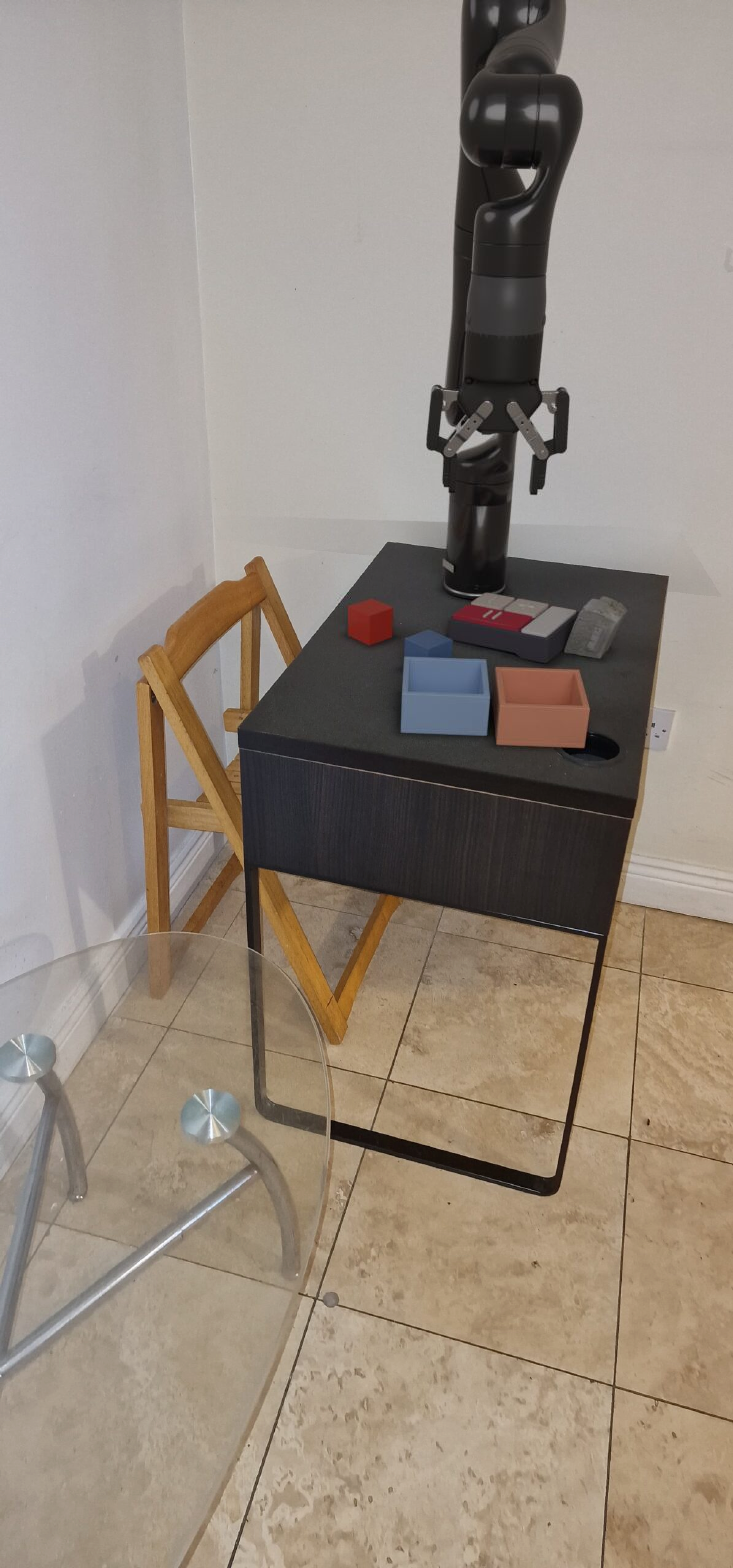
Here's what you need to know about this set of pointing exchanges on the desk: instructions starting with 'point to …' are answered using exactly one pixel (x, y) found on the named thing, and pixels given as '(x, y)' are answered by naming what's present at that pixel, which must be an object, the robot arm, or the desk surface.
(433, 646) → the blue block
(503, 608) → the grey tray with pads
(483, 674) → the blue bin
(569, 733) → the red bin
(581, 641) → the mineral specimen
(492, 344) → the robot arm
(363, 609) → the red block
